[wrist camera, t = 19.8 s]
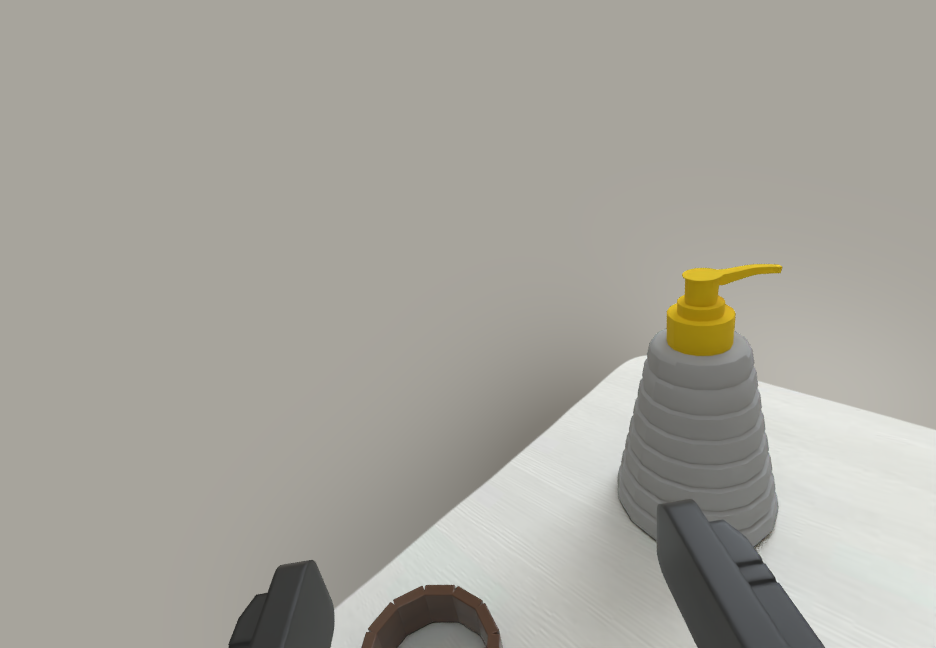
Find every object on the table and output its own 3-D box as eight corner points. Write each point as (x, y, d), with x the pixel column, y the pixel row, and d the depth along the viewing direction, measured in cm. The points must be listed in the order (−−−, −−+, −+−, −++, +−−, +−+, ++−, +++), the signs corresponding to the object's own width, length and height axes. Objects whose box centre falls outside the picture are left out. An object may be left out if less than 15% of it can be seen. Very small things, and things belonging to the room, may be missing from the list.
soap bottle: (811, 552, 35) (861, 295, 27) (636, 562, 37) (630, 322, 28) (736, 441, 46) (754, 235, 38) (604, 452, 48) (593, 257, 39)
